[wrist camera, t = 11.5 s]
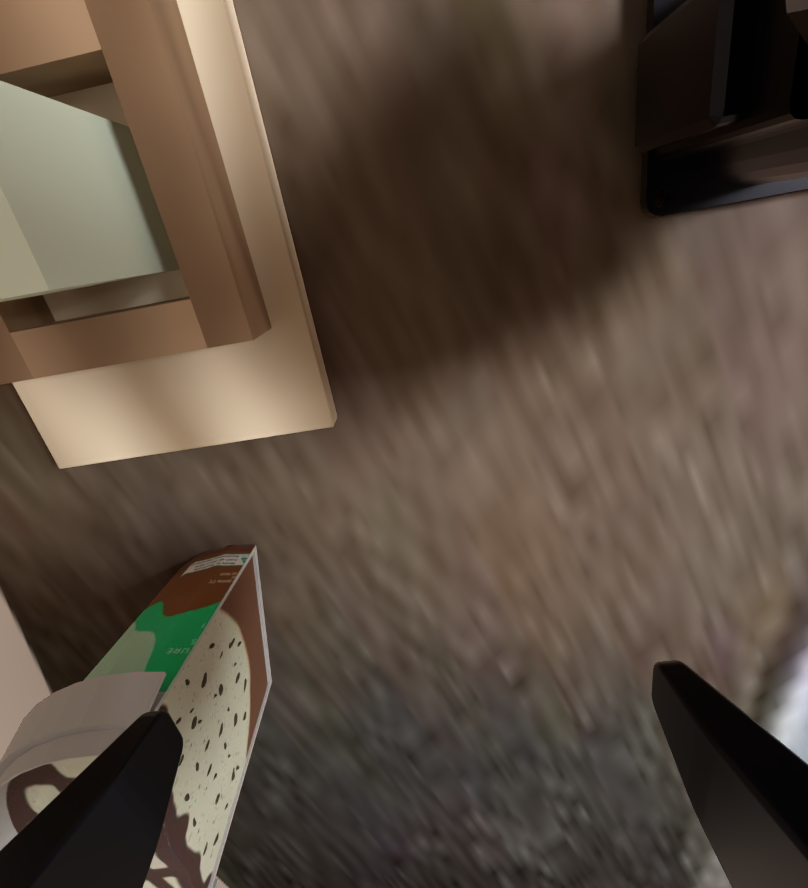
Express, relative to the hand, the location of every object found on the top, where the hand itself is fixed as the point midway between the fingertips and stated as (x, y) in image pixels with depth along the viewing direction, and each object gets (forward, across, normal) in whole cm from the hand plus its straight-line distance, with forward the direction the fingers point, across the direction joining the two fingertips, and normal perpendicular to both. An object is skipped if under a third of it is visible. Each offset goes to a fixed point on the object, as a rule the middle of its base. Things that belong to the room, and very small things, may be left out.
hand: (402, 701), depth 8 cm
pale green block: (+10, +8, -10) cm, 17 cm away
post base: (+12, +8, -10) cm, 17 cm away
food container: (+12, +12, +8) cm, 19 cm away
